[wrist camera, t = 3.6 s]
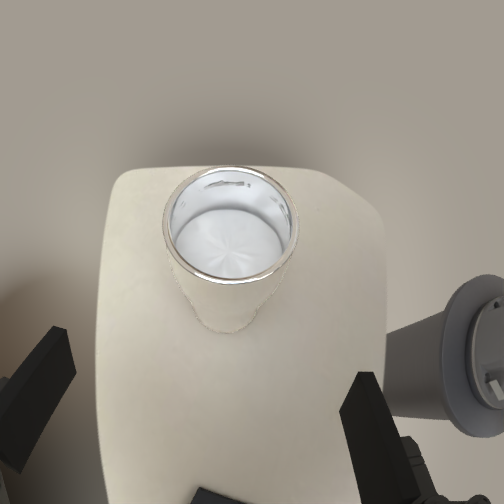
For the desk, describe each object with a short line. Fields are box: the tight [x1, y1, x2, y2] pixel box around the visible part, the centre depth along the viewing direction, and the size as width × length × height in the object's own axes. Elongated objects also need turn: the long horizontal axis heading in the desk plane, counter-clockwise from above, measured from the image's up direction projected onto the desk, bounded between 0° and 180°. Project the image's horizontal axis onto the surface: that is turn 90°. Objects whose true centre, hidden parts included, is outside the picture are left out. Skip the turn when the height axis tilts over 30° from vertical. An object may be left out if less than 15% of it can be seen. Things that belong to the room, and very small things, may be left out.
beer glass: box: [163, 165, 299, 333], centre depth 22 cm, size 7×7×15 cm
